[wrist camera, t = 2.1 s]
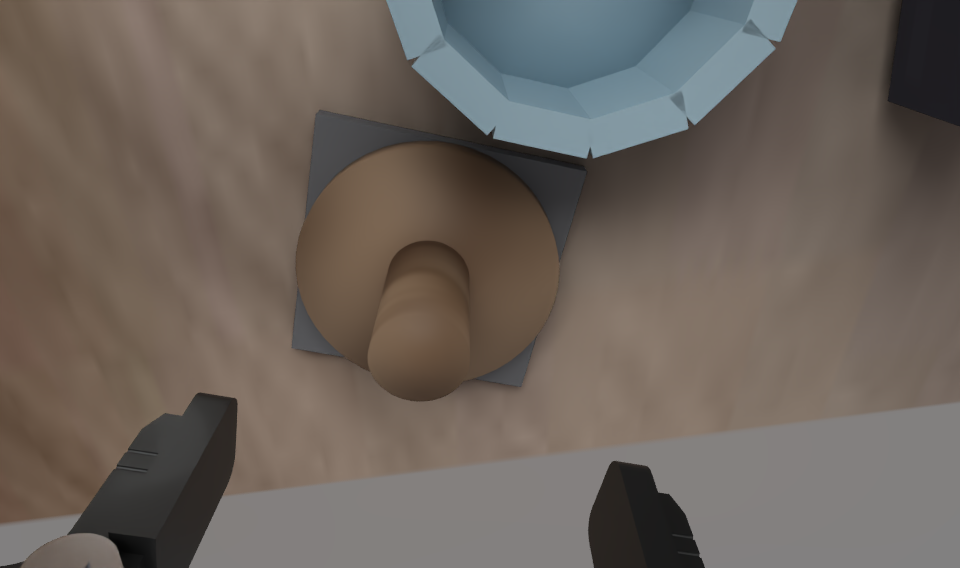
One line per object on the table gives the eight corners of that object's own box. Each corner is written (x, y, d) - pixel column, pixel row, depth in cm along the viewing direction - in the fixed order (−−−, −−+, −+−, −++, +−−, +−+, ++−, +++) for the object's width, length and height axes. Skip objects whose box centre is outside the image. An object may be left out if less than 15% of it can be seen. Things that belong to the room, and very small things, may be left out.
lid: (291, 347, 24) (242, 457, 19) (316, 114, 20) (263, 170, 15) (520, 386, 25) (535, 502, 20) (587, 171, 21) (627, 244, 16)
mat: (295, 339, 25) (291, 348, 24) (319, 109, 21) (316, 114, 20) (519, 377, 26) (521, 386, 25) (584, 166, 22) (586, 171, 21)
